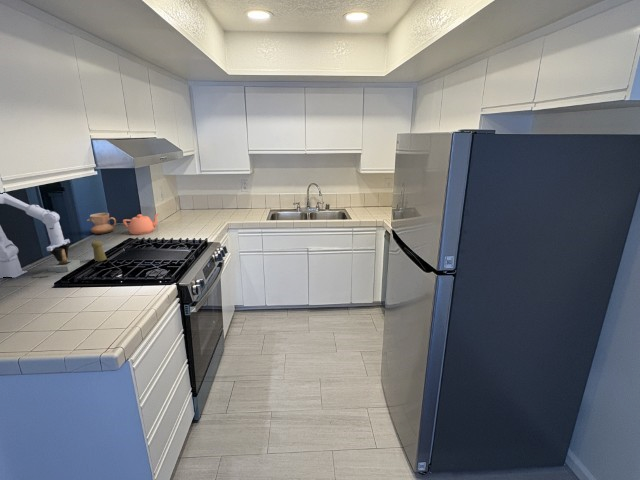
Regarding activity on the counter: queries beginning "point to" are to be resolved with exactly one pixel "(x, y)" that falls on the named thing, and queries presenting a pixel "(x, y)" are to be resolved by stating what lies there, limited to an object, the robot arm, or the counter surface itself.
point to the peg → (63, 258)
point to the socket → (64, 266)
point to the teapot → (141, 224)
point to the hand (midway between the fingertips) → (62, 259)
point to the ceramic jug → (101, 223)
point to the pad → (44, 274)
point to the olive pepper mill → (98, 251)
